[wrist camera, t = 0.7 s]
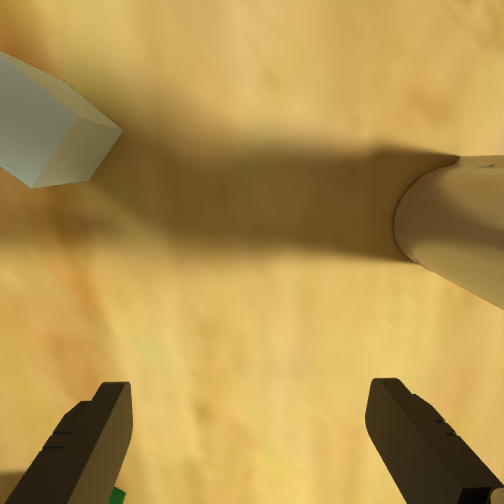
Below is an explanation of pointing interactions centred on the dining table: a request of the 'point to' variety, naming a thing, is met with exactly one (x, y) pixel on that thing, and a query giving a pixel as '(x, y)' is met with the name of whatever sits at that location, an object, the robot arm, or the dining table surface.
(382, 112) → the dining table surface
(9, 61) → the green block
